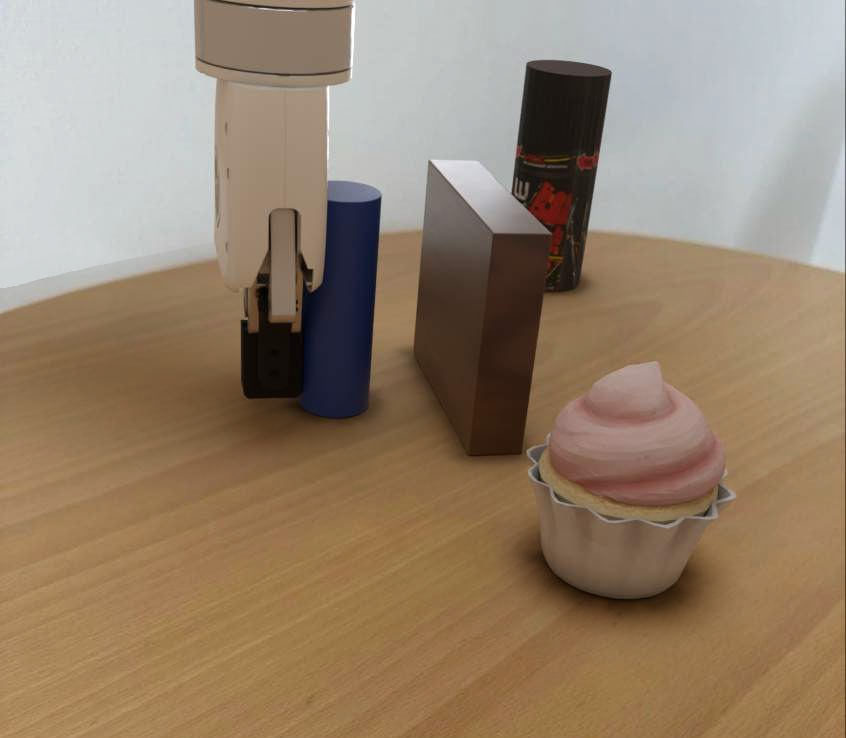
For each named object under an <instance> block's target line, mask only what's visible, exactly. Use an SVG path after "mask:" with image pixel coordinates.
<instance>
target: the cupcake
mask: <svg viewBox="0 0 846 738" xmlns="http://www.w3.org/2000/svg"><path fill="white" fill-rule="evenodd" d="M663 377H664V376H663V373H662V370H661V366H660V364H659V361H658V360H657V361H655V360H654V361H649V362H643V363H640V364H628V365H626V366H624V367H622V368H619V369H617V370H615V371H613V372H610V373H608V374H606V375H605V376H603V377H601V378H599V379H598V380H597V381H595V382H594V383H593V384H592V386H591V387H590V389H589V391H587V393H585V394H583V395H581V396H579V397H577V398H575V399H574V400H572V401H570V402H569V403H567V404H566V405H565V406H564V407H563V408H562V409H561V411H560V412H559V413H558V414H557V416H556V418H555V420H554V423H553V426H552V428H551V431H550V432H549V433H548V434H547V435H546V439H545V440H546V441H545V444H540V445H534V446H532V447H530V448H529V449H526V456H527V459H528V462H529V466H530V467H529V468H528V469H527V472H528V478H529V482H530V485H531V488H532V491H533V494H534V497H535V500H536V504H537V507H538V523H539V533H540V535H539V536H540V543H541V544H540V545H541V551H542V553H543V556H544V559H545V561H546V563H547V565H548V567H549V568H550V570H551V571H552V572H553V574H554V575H556V576H557V577H558V578H560V580H562V581H564V582H565V583H567V584H569V585H570V586H572V587H574V588H576V589H578V590H580V591H583V592H586V593H588V594H592V595H596V596H600V597H605V598H610V599H615V600H616V599H618V600H619V599H620V600H635V599H643V598H651V597H653V596H656V595H659V594H661V593H663V592H665V591H667V590H668V589H669V588H671V587H672V586H673V585H675V583H677V582H678V580H679V578H680V576H682V573H683V571H684V570H685V568H686V565H687V563H688V561H689V560H690V558H691V556H692V554H693V552H694V551H695V549H696V547H697V546H698V544H699V542H700V540H701V539H702V537H703V535H704V534H705V532H706V530H707V529H708V528H709V527H710V526H711V525H712V524H713V523H714V522H715V521H716V520H717V518H718V517H719V516H720V515H721V514H722V513H723V512H724V511H725V510H726V509H727V507H729V506H730V505H731V504H732V503H733V502H734V500H736V499H737V498H738V496H737V494H736V493H735V491H733V490H732V489H731V488H730V487H728V486H727V485H726V484H725V483H723V482H724V480H725V479H726V477H727V475H728V470H729V469H727V468H726V464H727V463H726V461H727V460H726V451H725V447H724V445H723V443H722V441H721V439H720V438H719V436H718V435H717V433H716V432H715V431H714V430H713V429H712V428H711V427H710V426H709V423H708V420H707V419H706V417H705V415H704V413H703V411H702V409H701V408H699V406H697V404H696V403H695V402H694V401H693V400H692V399H691V398H690V397H688V396H686V395H685V394H684V393H683V392H681V391H679V390H677V389H676V388H675V387H673V386H672V385H670V384H669V383H667V382H666V381H664V378H663Z"/></svg>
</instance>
